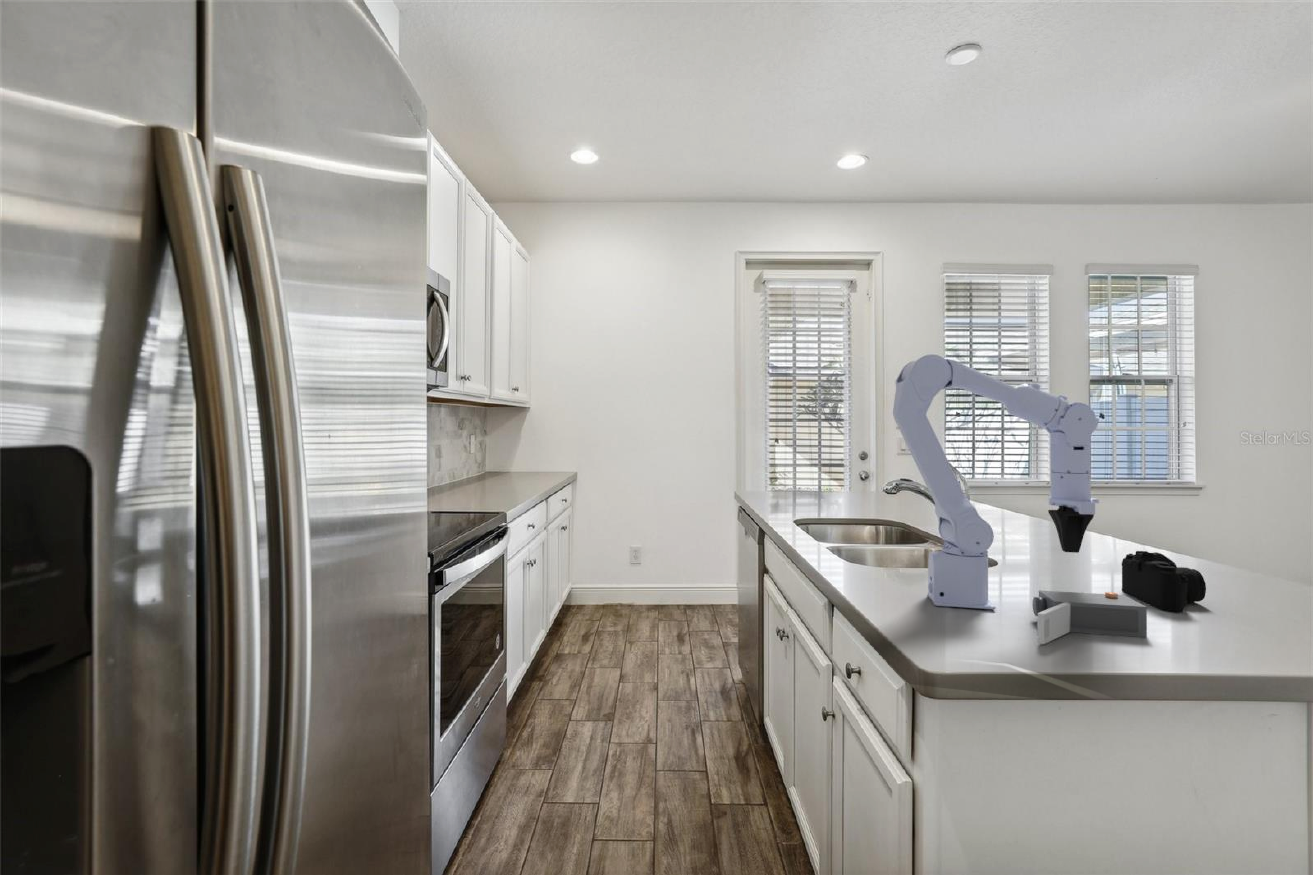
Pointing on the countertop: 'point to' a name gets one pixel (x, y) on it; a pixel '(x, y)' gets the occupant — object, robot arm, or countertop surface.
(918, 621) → the countertop surface
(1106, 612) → the grey box
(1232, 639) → the countertop surface
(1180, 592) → the film camera
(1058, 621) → the side door
